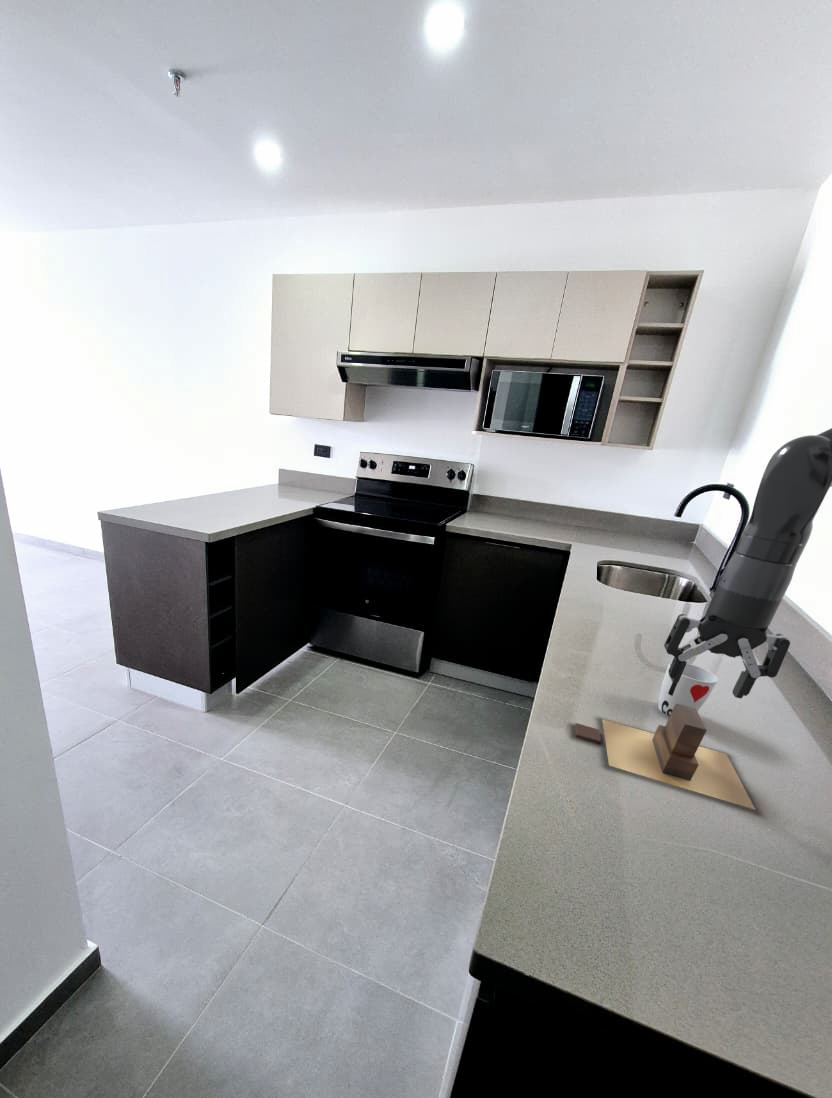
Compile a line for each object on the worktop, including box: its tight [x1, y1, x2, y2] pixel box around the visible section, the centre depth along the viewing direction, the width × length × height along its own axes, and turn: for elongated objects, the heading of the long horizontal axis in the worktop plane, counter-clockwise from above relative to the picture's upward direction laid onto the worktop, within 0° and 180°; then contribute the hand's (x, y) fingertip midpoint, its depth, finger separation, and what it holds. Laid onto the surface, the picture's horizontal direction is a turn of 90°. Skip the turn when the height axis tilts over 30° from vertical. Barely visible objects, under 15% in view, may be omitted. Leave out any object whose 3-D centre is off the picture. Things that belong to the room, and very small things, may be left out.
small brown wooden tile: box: [574, 722, 602, 745], centre depth 86 cm, size 4×4×2 cm
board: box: [602, 719, 756, 811], centre depth 83 cm, size 20×15×1 cm
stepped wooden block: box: [652, 704, 707, 781], centre depth 81 cm, size 4×10×8 cm, turn 159°
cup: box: [658, 661, 719, 717], centre depth 96 cm, size 8×8×10 cm
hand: (704, 688), depth 77 cm, fingers open, 8 cm apart
